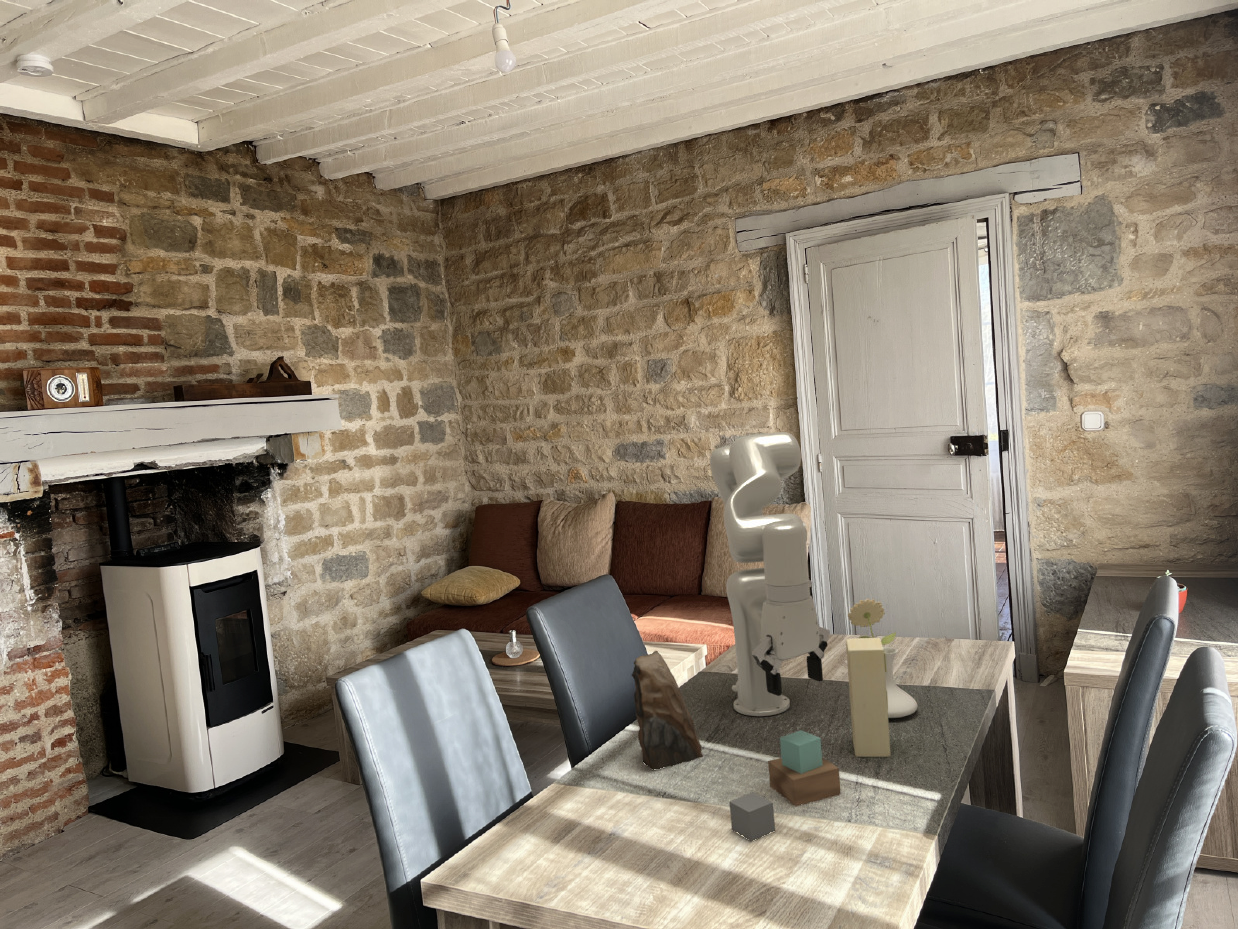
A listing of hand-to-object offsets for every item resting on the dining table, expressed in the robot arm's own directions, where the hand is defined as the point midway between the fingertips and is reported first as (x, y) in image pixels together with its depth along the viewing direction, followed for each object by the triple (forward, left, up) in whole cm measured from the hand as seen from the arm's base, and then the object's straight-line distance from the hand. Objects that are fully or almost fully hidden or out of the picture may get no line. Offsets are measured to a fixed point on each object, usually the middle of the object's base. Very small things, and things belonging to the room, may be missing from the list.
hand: (795, 686), depth 155 cm
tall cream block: (-4, +22, -19) cm, 29 cm away
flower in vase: (-15, +38, -19) cm, 45 cm away
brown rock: (-29, -9, -19) cm, 36 cm away
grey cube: (+5, -16, -19) cm, 25 cm away
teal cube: (+1, 0, -14) cm, 14 cm away
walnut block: (0, 0, -19) cm, 19 cm away
